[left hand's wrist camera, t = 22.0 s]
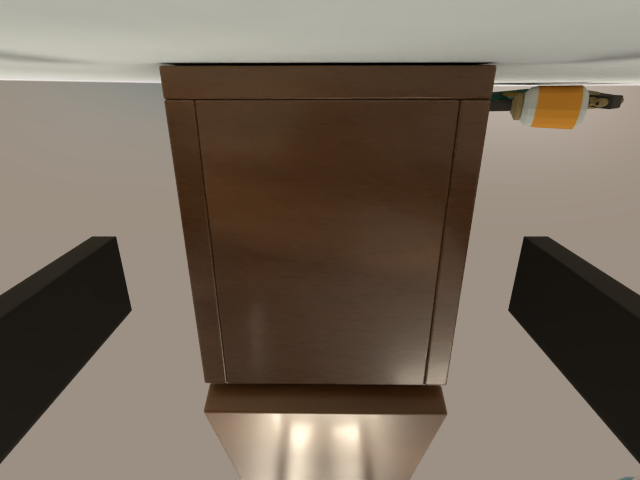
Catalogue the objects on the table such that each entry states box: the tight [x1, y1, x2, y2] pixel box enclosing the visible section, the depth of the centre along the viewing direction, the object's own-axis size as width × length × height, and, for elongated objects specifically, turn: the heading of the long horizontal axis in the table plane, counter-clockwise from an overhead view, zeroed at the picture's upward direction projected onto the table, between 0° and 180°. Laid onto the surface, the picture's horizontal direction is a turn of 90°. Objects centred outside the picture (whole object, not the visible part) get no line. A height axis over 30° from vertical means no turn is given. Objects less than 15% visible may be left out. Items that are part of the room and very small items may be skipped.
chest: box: [160, 65, 496, 385], centre depth 21 cm, size 18×9×11 cm, turn 1°
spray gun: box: [489, 85, 624, 129], centre depth 44 cm, size 4×17×15 cm
